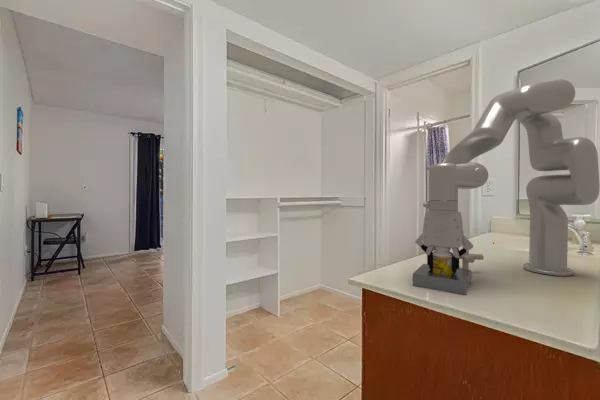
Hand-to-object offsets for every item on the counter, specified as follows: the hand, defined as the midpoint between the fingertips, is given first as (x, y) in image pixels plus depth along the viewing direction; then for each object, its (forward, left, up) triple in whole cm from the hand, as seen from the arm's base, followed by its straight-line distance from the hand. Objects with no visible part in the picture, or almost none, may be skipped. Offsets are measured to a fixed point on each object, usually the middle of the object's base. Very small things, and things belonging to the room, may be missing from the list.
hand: (442, 268), depth 81 cm
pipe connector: (-18, +4, -4) cm, 19 cm away
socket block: (0, 0, -4) cm, 4 cm away
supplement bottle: (0, 0, -3) cm, 3 cm away
